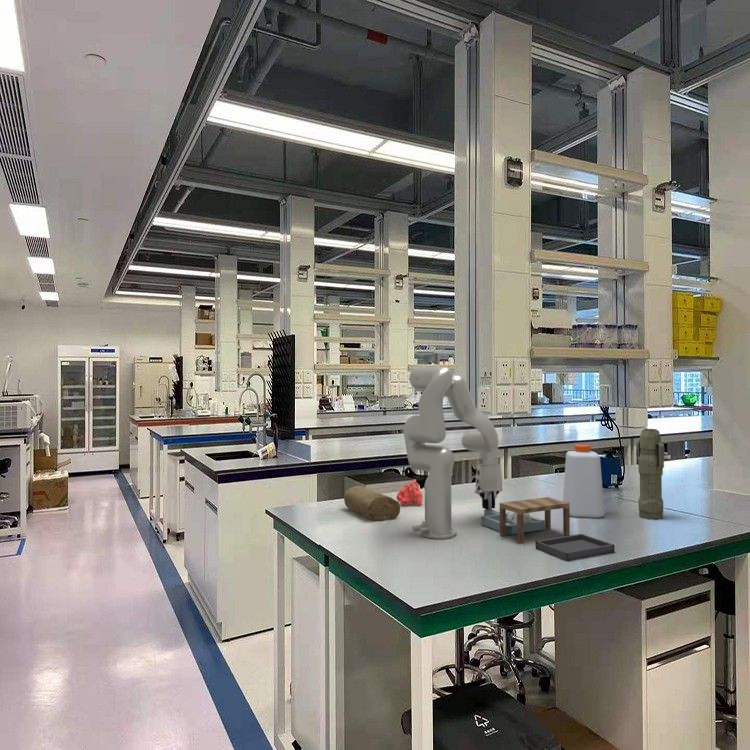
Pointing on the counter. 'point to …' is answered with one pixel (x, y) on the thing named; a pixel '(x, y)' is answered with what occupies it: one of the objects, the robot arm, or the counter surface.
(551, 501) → the small wooden table
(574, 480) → the plastic bottle
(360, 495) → the core sample
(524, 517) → the grey rock
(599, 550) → the tray
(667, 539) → the counter surface
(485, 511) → the sliding frame
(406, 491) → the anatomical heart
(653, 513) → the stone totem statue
